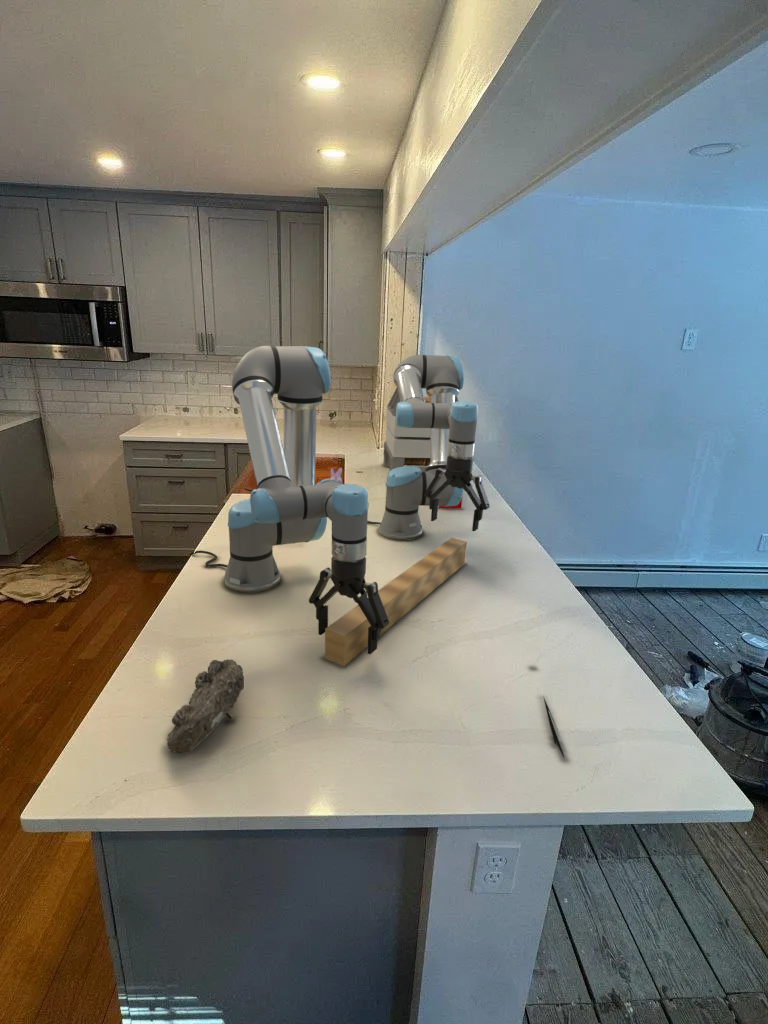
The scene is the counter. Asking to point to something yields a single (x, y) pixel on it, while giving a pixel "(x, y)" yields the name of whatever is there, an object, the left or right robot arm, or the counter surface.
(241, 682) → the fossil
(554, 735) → the feather
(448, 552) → the post
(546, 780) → the counter surface
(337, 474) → the figurine
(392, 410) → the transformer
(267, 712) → the counter surface
